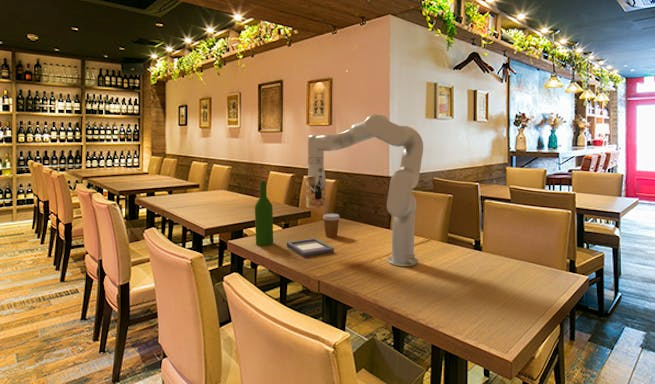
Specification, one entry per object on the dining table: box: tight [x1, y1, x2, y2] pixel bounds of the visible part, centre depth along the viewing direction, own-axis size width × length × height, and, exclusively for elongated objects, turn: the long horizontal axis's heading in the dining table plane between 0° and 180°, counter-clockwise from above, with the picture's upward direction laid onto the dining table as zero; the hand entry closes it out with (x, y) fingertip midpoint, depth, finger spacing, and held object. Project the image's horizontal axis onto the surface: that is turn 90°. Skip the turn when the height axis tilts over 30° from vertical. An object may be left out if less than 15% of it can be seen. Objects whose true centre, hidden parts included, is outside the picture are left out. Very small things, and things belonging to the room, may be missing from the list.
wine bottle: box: [254, 181, 274, 247], centre depth 208 cm, size 9×9×32 cm
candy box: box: [305, 175, 327, 209], centre depth 195 cm, size 9×4×15 cm, turn 106°
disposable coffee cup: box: [322, 213, 340, 238], centre depth 224 cm, size 10×10×12 cm
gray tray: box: [286, 237, 335, 259], centre depth 199 cm, size 20×16×2 cm
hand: (315, 198), depth 196 cm, fingers closed on candy box, 4 cm apart
